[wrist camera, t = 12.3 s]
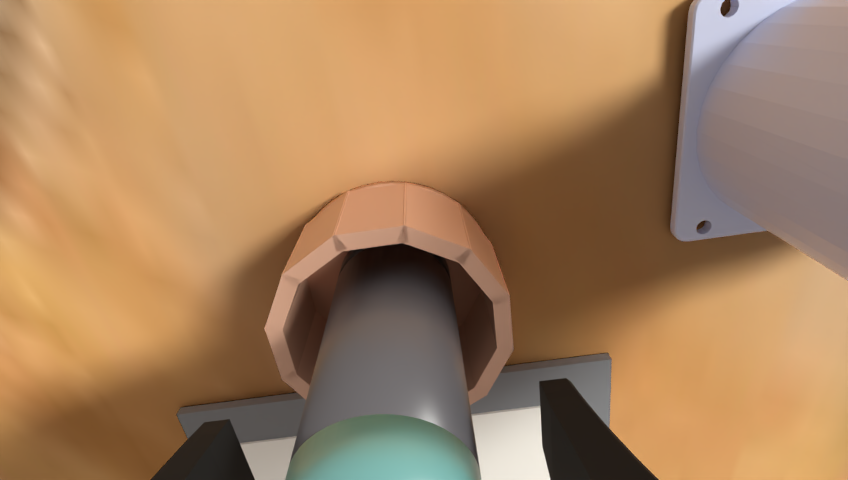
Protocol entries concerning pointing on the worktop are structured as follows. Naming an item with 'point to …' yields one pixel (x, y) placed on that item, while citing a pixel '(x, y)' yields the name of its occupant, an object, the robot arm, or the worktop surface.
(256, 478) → the writing mat
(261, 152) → the worktop surface
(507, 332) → the pen cup
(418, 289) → the marker
